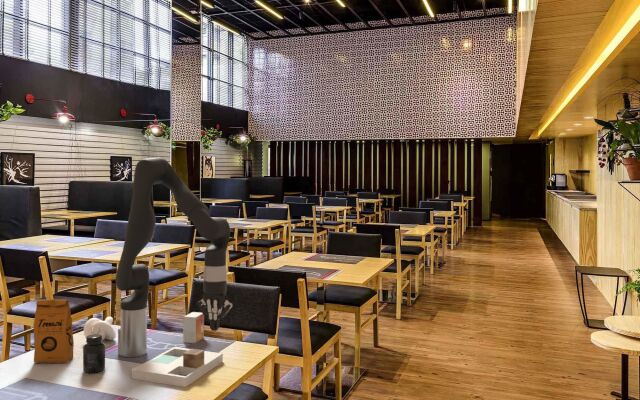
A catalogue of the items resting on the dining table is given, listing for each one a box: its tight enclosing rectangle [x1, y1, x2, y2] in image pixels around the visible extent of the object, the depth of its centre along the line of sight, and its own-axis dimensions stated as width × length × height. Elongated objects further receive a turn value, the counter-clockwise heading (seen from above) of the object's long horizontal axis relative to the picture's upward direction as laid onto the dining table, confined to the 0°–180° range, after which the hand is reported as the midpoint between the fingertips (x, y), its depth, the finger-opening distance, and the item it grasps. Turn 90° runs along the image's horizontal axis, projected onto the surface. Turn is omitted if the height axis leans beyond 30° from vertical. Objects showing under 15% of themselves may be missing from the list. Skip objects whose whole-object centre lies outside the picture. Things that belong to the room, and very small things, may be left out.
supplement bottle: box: [82, 334, 106, 375], centre depth 170 cm, size 7×7×12 cm
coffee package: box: [33, 299, 75, 364], centre depth 179 cm, size 10×12×22 cm
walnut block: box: [183, 348, 205, 368], centre depth 169 cm, size 5×5×4 cm
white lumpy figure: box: [83, 316, 117, 341], centre depth 202 cm, size 11×12×9 cm
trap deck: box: [131, 346, 223, 388], centre depth 173 cm, size 20×24×3 cm
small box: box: [182, 311, 205, 344], centre depth 205 cm, size 8×6×10 cm
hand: (214, 330), depth 168 cm, fingers closed
